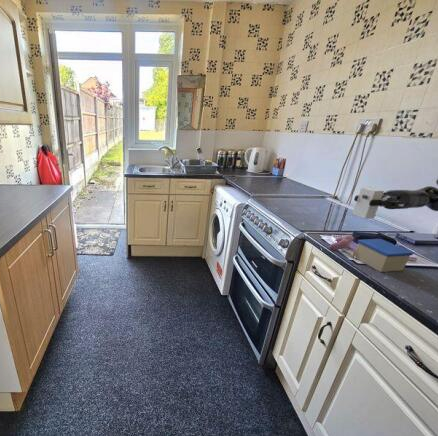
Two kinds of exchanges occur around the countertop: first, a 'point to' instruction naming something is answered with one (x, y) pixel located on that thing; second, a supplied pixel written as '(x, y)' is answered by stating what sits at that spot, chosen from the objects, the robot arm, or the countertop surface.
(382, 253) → the container
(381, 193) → the white case
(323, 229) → the countertop surface
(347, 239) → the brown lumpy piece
